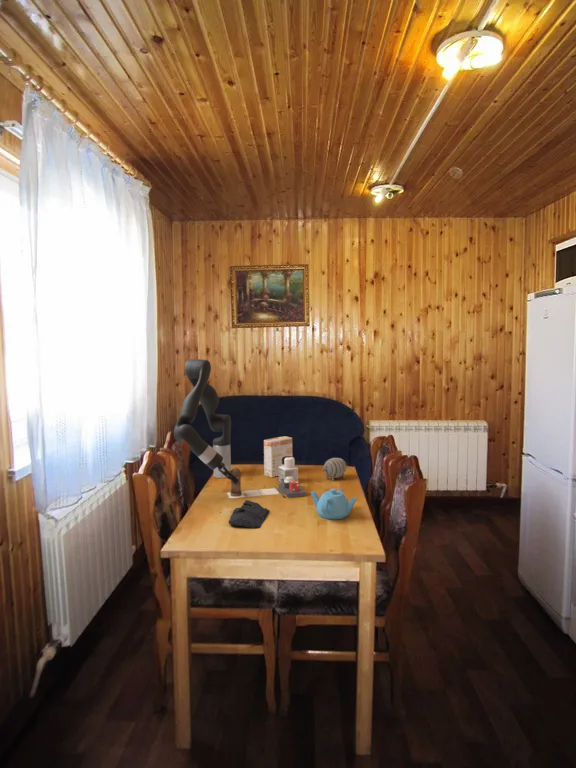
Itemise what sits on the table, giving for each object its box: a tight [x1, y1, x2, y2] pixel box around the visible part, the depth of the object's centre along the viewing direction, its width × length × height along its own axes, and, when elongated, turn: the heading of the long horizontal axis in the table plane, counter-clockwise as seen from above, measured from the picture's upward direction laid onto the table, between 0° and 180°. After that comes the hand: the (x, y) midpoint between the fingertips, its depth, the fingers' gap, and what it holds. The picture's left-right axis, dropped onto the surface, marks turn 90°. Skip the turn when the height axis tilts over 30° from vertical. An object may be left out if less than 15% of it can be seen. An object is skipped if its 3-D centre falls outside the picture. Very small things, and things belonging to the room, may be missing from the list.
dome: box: [284, 476, 295, 483], centre depth 235 cm, size 6×6×4 cm
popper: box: [278, 478, 307, 498], centre depth 231 cm, size 16×9×6 cm, turn 16°
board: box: [226, 486, 285, 499], centre depth 226 cm, size 16×26×1 cm, turn 106°
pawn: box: [230, 467, 243, 497], centre depth 224 cm, size 5×5×13 cm
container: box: [278, 455, 299, 483], centre depth 248 cm, size 8×8×13 cm
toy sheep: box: [321, 457, 348, 482], centre depth 253 cm, size 11×17×11 cm, turn 133°
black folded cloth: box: [228, 499, 270, 529], centre depth 197 cm, size 15×22×5 cm
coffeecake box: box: [263, 435, 293, 478], centre depth 263 cm, size 15×7×20 cm, turn 130°
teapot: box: [310, 488, 357, 520], centre depth 201 cm, size 15×15×11 cm
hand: (235, 479), depth 223 cm, fingers open, 8 cm apart
